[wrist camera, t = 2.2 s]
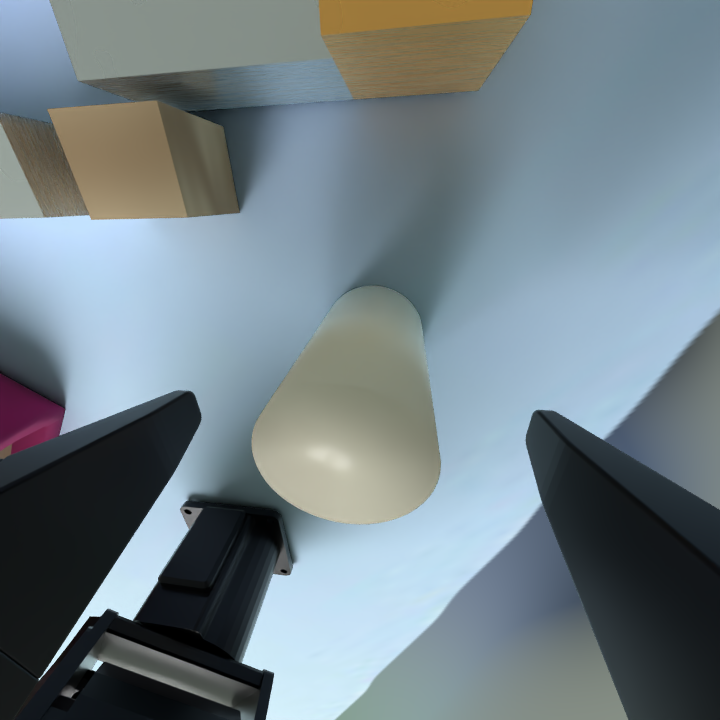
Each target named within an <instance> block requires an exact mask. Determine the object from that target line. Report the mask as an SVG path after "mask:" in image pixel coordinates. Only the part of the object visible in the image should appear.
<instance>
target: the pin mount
mask: <svg viewBox="0 0 720 720" xmlns="http://www.w3.org/2000/svg"><path fill="white" fill-rule="evenodd" d="M47 110H48V112H49V115H50V117H51V120H52V122H53V125H54V127H55V130H56V132H57V135H58V137H59V140H60V142H61V145H62V147H63V150H64V152H65V155H66V157H67V160H68V162H69V165H70V167H71V170H72V172H73V175H74V177H75V180H76V182H77V185H78V187H79V190H80V192H81V195H82V197H83V200H84V202H85V205H86V207H87V210H88V213H89V215H90V218H91V220H99V219H142V218H184V217H198V216H209V215H220V214H232V213H240V212H239V207H238V201H237V196H236V191H235V186H234V180H233V175H232V170H231V165H230V159H229V154H228V149H227V144H226V138H225V133H224V128H223V126H220V125H218V124H215V123H213V122H210V121H208V120H205V119H203V118H200V117H198V116H195V115H192V114H190V113H187V112H185V111H182V110H180V109H177V108H175V107H172V106H170V105H167V104H164V103H162V102H159V101H157V100H156V101H143V102H130V103H117V104H104V105H91V106H78V107H65V108H52V109H47Z"/></svg>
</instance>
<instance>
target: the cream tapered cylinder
mask: <svg viewBox="0 0 720 720" xmlns="http://www.w3.org/2000/svg"><path fill="white" fill-rule="evenodd" d="M252 452H253V457H254V460H255V463H256V466H257V468H258V470H259V472H260V473H261V475H262V476H263V478H264V479H265V481H266V482H267V483H268V484H269V486H270V487H271V488H272V489H273V490H274V491H275V492H276V493H277V494H278V495H279V496H281V497H282V498H283V499H285V500H286V501H287V502H289V503H290V504H292V505H294V506H295V507H297V508H299V509H301V510H303V511H305V512H307V513H309V514H312V515H314V516H317V517H320V518H323V519H326V520H330V521H334V522H340V523H347V524H374V523H381V522H386V521H390V520H393V519H397V518H399V517H402V516H404V515H406V514H408V513H410V512H412V511H413V510H415V509H416V508H418V507H419V506H420V505H421V504H423V503H424V502H425V501H426V500H427V499H428V497H429V496H430V495H431V493H432V492H433V490H434V489H435V487H436V484H437V482H438V479H439V475H440V468H441V460H440V453H439V446H438V438H437V431H436V424H435V417H434V409H433V402H432V395H431V388H430V380H429V373H428V366H427V359H426V351H425V344H424V337H423V330H422V323H421V319H420V316H419V314H418V312H417V310H416V309H415V307H414V306H413V304H412V303H411V302H410V301H409V300H408V299H407V298H406V297H405V296H403V295H402V294H400V293H399V292H397V291H395V290H393V289H390V288H387V287H383V286H374V285H371V286H362V287H358V288H355V289H353V290H351V291H348V292H347V293H345V294H344V295H342V296H341V297H340V298H339V299H338V300H337V301H336V302H335V303H334V305H333V306H332V308H331V309H330V311H329V312H328V314H327V315H326V317H325V318H324V320H323V321H322V323H321V324H320V326H319V327H318V329H317V330H316V332H315V333H314V335H313V336H312V338H311V339H310V341H309V342H308V344H307V345H306V347H305V348H304V350H303V351H302V353H301V354H300V356H299V357H298V359H297V360H296V362H295V363H294V365H293V366H292V368H291V369H290V371H289V372H288V374H287V375H286V377H285V378H284V380H283V381H282V383H281V384H280V385H279V387H278V388H277V390H276V391H275V393H274V394H273V396H272V397H271V399H270V400H269V402H268V403H267V405H266V406H265V408H264V409H263V411H262V412H261V414H260V416H259V417H258V419H257V421H256V423H255V426H254V429H253V433H252Z"/></svg>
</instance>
